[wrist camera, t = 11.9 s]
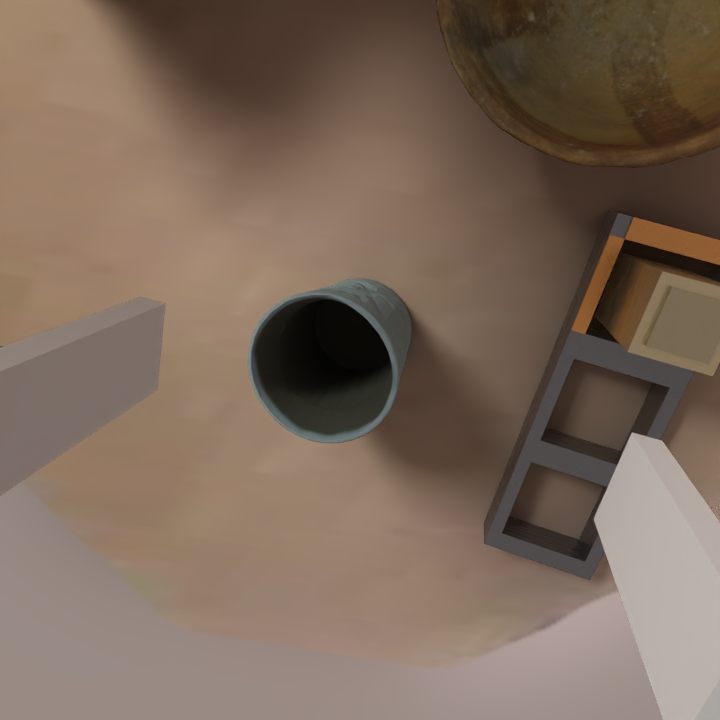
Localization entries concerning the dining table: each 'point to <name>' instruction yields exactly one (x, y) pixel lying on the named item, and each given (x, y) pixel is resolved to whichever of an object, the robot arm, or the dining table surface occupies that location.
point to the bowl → (593, 74)
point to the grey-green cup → (331, 359)
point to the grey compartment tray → (570, 345)
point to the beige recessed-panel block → (663, 313)
